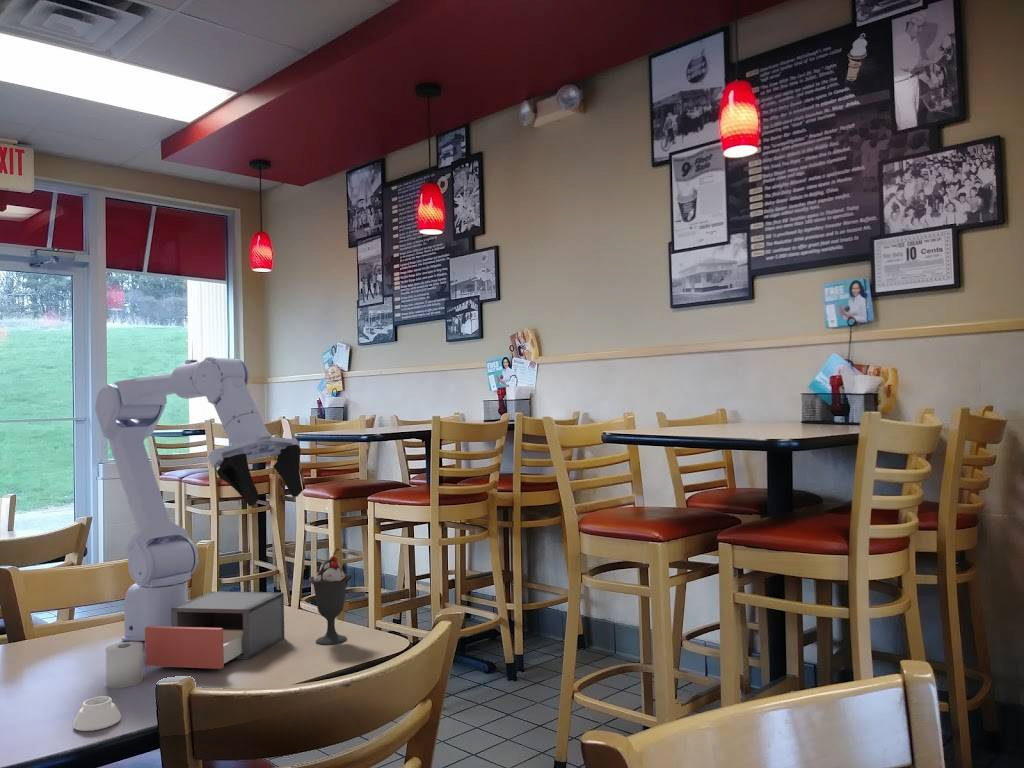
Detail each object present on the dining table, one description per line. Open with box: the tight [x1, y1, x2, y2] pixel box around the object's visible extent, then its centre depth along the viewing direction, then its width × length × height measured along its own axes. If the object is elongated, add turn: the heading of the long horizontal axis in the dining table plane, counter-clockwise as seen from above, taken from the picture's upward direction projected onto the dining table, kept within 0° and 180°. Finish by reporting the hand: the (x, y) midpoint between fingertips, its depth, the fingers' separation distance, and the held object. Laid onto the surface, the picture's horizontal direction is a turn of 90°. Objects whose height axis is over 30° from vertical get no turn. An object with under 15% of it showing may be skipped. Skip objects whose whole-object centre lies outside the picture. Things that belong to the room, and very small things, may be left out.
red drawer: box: [144, 626, 243, 670], centre depth 119 cm, size 12×11×6 cm
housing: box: [171, 591, 285, 660], centre depth 126 cm, size 13×11×7 cm
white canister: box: [105, 641, 144, 689], centre depth 111 cm, size 5×5×5 cm
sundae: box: [308, 547, 352, 646], centre depth 128 cm, size 7×7×15 cm
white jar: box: [73, 695, 122, 732], centre depth 96 cm, size 5×3×5 cm
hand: (276, 498), depth 119 cm, fingers open, 7 cm apart
